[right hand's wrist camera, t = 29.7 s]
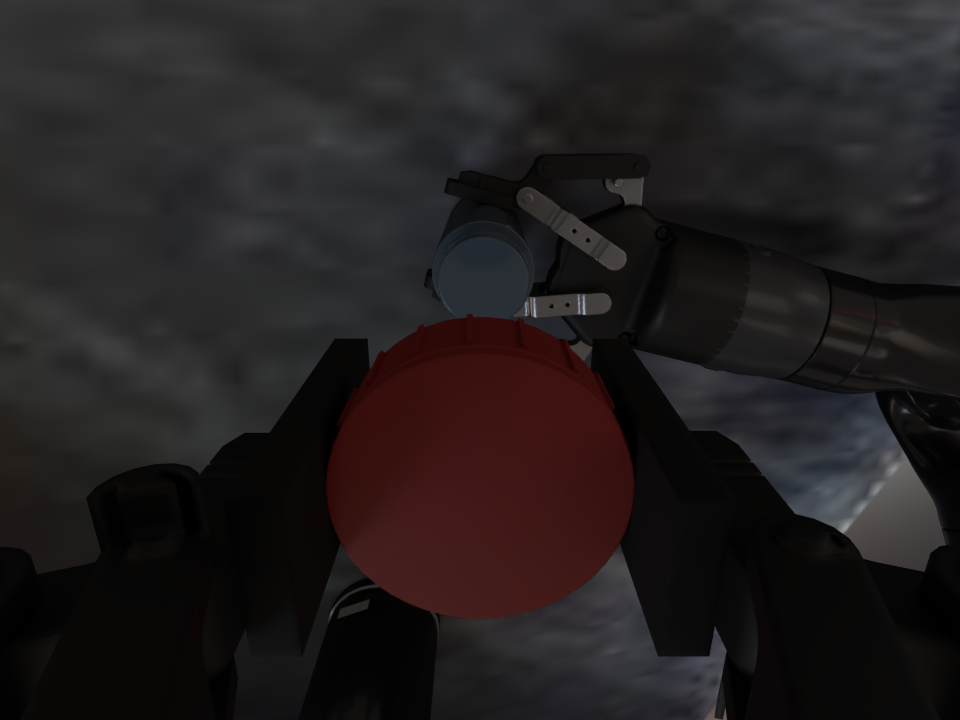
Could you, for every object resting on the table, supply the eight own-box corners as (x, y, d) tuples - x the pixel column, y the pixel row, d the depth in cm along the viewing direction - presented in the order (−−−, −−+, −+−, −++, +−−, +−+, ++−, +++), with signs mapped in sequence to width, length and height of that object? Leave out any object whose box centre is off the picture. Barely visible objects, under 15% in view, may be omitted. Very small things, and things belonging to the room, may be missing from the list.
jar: (470, 275, 41) (464, 353, 27) (434, 215, 40) (407, 263, 25) (530, 240, 40) (557, 300, 26) (495, 178, 39) (503, 205, 24)
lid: (482, 251, 11) (483, 278, 9) (668, 444, 12) (704, 502, 10) (290, 436, 12) (255, 493, 10) (478, 591, 13) (477, 667, 12)
